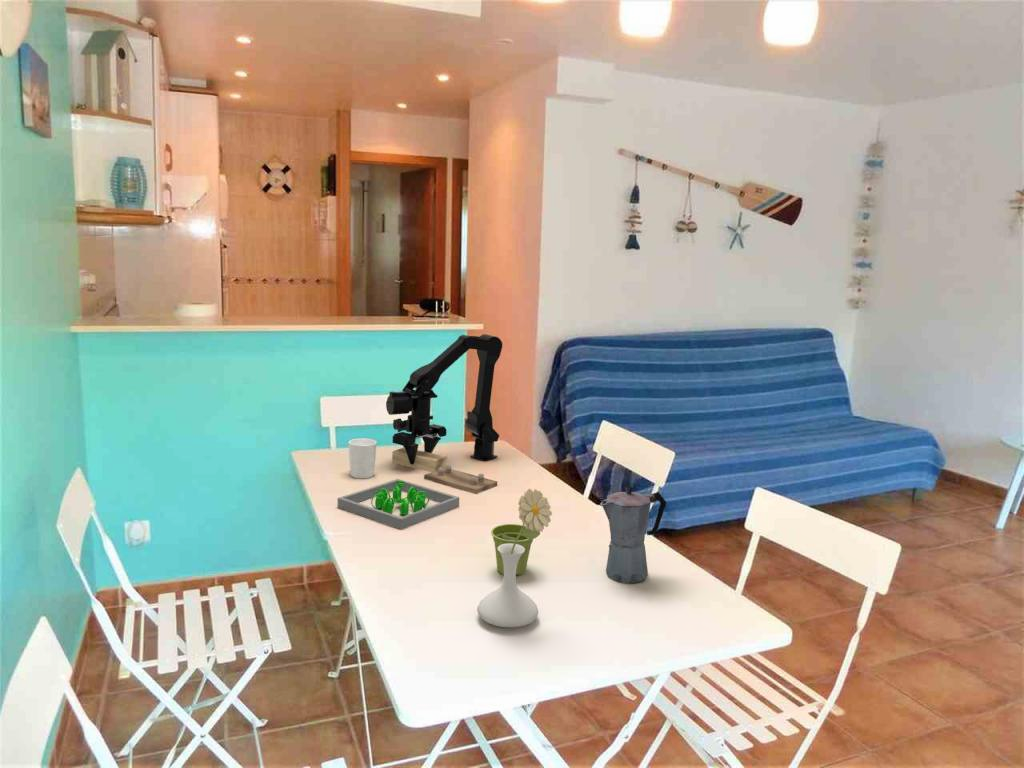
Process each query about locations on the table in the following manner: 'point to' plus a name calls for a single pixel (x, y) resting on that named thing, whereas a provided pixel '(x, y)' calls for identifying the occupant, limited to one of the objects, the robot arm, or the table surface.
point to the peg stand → (460, 480)
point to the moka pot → (629, 533)
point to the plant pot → (511, 531)
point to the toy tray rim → (353, 506)
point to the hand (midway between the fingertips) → (419, 461)
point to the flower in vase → (508, 599)
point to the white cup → (362, 457)
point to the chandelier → (400, 499)
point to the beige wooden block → (420, 460)
